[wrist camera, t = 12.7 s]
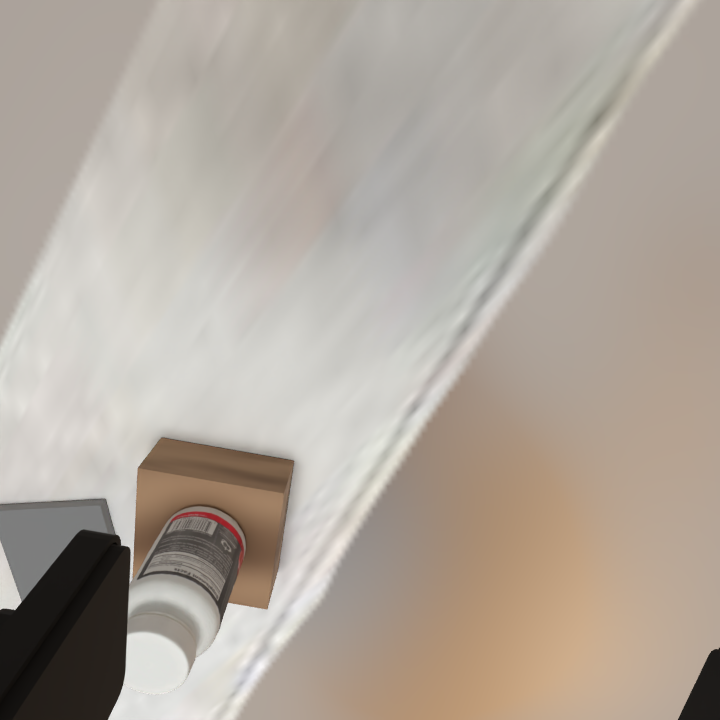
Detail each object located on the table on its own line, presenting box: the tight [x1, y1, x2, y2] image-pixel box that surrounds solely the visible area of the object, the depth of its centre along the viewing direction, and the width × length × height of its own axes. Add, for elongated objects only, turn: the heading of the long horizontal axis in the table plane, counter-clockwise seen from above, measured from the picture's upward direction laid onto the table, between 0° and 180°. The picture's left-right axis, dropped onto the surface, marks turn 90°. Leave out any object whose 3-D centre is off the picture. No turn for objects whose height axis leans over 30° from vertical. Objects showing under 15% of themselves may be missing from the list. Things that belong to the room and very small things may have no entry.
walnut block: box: [133, 438, 294, 609], centre depth 41 cm, size 9×9×4 cm
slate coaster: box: [0, 499, 115, 601], centre depth 44 cm, size 8×8×1 cm
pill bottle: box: [123, 506, 246, 695], centre depth 34 cm, size 5×5×10 cm
